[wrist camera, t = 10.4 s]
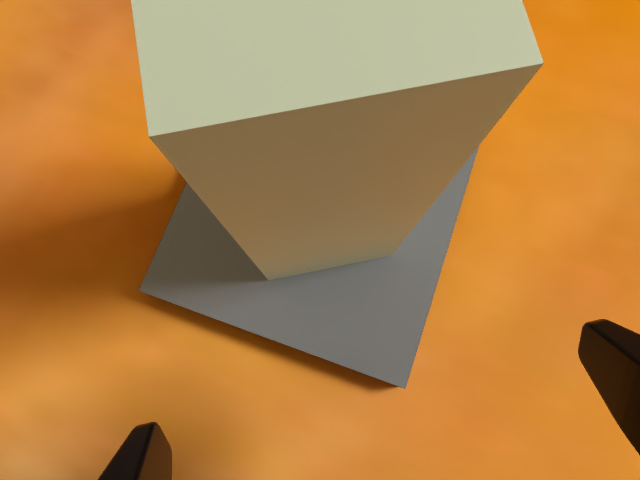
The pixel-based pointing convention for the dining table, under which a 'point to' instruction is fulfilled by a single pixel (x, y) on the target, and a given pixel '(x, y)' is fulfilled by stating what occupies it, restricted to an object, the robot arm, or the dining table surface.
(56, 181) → the dining table surface
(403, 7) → the sage block
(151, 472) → the robot arm
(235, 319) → the slate trivet
